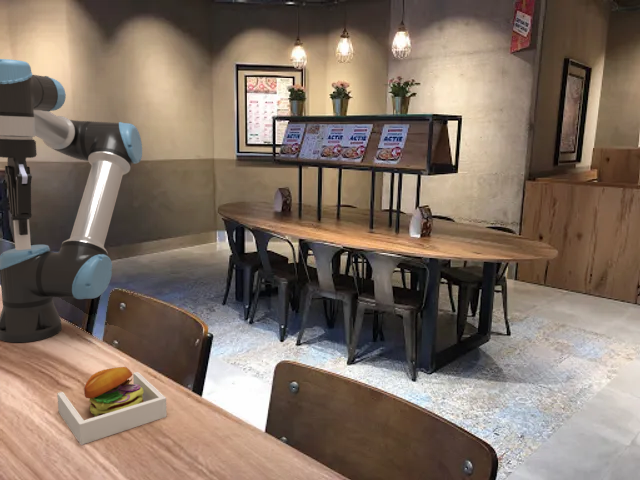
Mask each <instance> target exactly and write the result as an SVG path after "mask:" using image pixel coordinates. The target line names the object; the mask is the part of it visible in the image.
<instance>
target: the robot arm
mask: <svg viewBox="0 0 640 480" xmlns="http://www.w3.org/2000/svg"><path fill="white" fill-rule="evenodd" d="M66 96H67V95H66V91H65V88H64V86H63V84H62V83H61V82H60V81H58V79H55V78H53V77H50V76H47V75H39V74H38V75H37V74H33V72H32V67H31V65H30V64H29V63H28V62H27V61H24V60H18V59H7V58H0V158H3V159H4V158H6V159H7V165H5V166H4V171H3V172H4V176H5V180H6V186H7V193H8V195H7V196H8V202H9V203H8V204H9V213H10V215H11V217H10V219H11V221H12V222H13V234H14V235H13V236H14V245H15V246H14V247H15V248H12V249H7V250H5V251H3V252H2V253H1V254H0V287H1V288H0V289H1V290H0V291H1V299H2V310H1V313H0V340H1V341H2V342H7V343H30V342H36V341H40V340H44V339H48V338H51V337H53V336H55V335H57V334H58V333H60V332H61V330H62V328H63V327H62V319H61V317H60V315H59V312H58V311H57V308H56V306H55V303H54V299H53V298H65V299H77V300H84V299H89V300H90V299H92V300H93V299H95V298H98V297H100V296H101V295H102V294H104V293H105V291H106V290H107V289H108V286H109V285H110V282H111V279H112V275H113V271H112V270H113V263H112V260H111V258H110V256H108V255H109V253H108V251H107V248H105V243H106V239H107V235H108V232H109V229H110V228H109V227H110V224H111V220H112V217H113V213H114V209H115V205H116V201H117V198H118V195H119V191H120V188H121V182H122V179H123V176H124V175H127V174H128V173H129V172H130V171H131V168H132V164H134V165H135V164H138V163H140V162H141V160H142V157H143V144H142V138H141V135H140V132H139V130H138V128H137V126H135V125H134V124H132V123H127V122H122V121H119V122H109V121H108V122H106V121H92V120H91V121H90V120H72V119H69V118H68V117H66V116H62V115H56V114H54V113H52V112H54V111H58V110H59V109H61V108H62V106H64V104H65V101H66ZM51 111H52V112H51ZM35 137H37V138H38V139H40V140H42V142H43V143H44V144H45V145H46V147H48V148H50V149H52V150H53V151H56V152H58V153H60V154H63V155H65V156H68V157H70V158H74V159H76V160H80V161H85V162H88V163H89V164H90V166H91V167H90V170H89V174H88V177H87V180H86V183H85V184H86V185H85V187H84V191H83V194H82V198H81V201H80V203H79V207H78V210H77V214H76V217H75V220H74V223H73V227H72V231H71V234H70V237H69V238H68V239H66V240H64V241H62V243H61V246H60V248H59V251H58V252H56V251H55V252H54V251H53V252H52V251H51V248H50V246H49V245H48V244H33V245H31V243H32V241H31V231H30V229H31V228H30V218H32V216H33V214H32V178H33V175H32V174H31V168H30V166H28V164H27V158H28V159H32V158H35V157H36V156H38V154H37V153H38V152H37V141H36V140H35V139H33V138H35Z"/></svg>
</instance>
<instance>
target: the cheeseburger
mask: <svg viewBox="0 0 640 480" xmlns="http://www.w3.org/2000/svg"><path fill="white" fill-rule="evenodd" d="M132 376H133V372H132V371H131V370H130V369H129V368H128V367H126V366H120V367H111V368H106V369H103V370H99V371H97V372H95V373H93V374H92V375H91V376H90V377H89V379H87V381H86V384H85V386H84V388H83V390H84V397H85V398H86V399H89V401H88V402H89V403H90V404H89V411H90V413H91V414H92V415H93V416H94V417H97V416H100V415H103V414H106V413H110V412H113V411H116V410H120V409H123V408H126V407H129V406H133V405H136V404H139V403H143V402H144V400H143V396H142V395H143V392H144V390H143V388H142V387H140V385H137V384H134V383H131V382H133V378H132ZM130 378H131V379H130Z"/></svg>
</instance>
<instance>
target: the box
mask: <svg viewBox="0 0 640 480" xmlns="http://www.w3.org/2000/svg"><path fill="white" fill-rule="evenodd" d="M132 374H133V375H132V376H133V377H132V382H133V384H137V385H140V387H142V388H143V390H144V392H143V395H142V396H143V403H139V404H136V405H133V406H129V407H126V408H123V409H120V410H116V411H113V412H110V413H106V414H103V415H100V416H97V417H96V416H94V417H90V418H87V419H85V420H84V418H83V417H82V416H81V414H80V413H79V412H78V410H77V409H76V408H75V407H74V405H73V404H72V402H71V401H70V400H69V398H68V396H66V394H65V393H64V392H63V391H60V392H57V409H58V413H59V415H60V416H61V418H62V420H63V421H64V423H65V424H66V425H67V427H68V428H69V430H70V431H71V433H72V434H73V435H74V437H75V439H76V440H77V442H78V444H79V445H80V446H82V445H85V444H86V445H87V444H88V443H91V442H95V441H97V440H101V439H103V438H107V437H109V436H113V435H115V434H119V433H121V432H122V433H123V432H125V431H127V430H128V431H129V430H130V429H134V428H136V427H139V426H143V425H146V424H149V423H151V422H155V421H159V420H160V419H164V418H167V397H166V396H165V395H164V394H162V393H161V392H160V390H158V389H157V388H156V387H155V386H154V385H153V384H152V383H151V382H149V381H148V380H147V378H145V376H143V375H142V374H141V373H140V372H139V371H135V372H132Z"/></svg>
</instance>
